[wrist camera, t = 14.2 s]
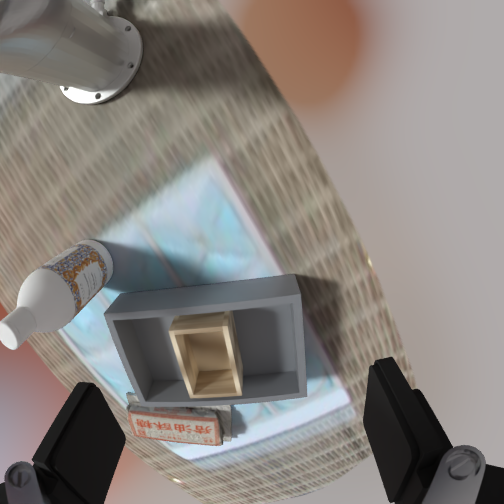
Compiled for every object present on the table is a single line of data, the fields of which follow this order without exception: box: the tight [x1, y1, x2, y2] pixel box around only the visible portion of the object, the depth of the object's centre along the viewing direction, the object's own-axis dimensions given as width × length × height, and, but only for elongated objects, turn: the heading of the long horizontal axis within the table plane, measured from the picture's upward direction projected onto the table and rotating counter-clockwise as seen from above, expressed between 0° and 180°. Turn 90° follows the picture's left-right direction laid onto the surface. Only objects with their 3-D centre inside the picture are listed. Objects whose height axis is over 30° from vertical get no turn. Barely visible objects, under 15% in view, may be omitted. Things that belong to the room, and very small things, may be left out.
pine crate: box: [169, 310, 243, 398], centre depth 40 cm, size 11×7×6 cm, turn 8°
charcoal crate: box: [104, 274, 307, 407], centre depth 41 cm, size 16×24×6 cm, turn 98°
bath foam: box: [0, 240, 113, 350], centre depth 31 cm, size 7×7×20 cm
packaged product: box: [126, 392, 232, 446], centre depth 47 cm, size 18×5×10 cm
